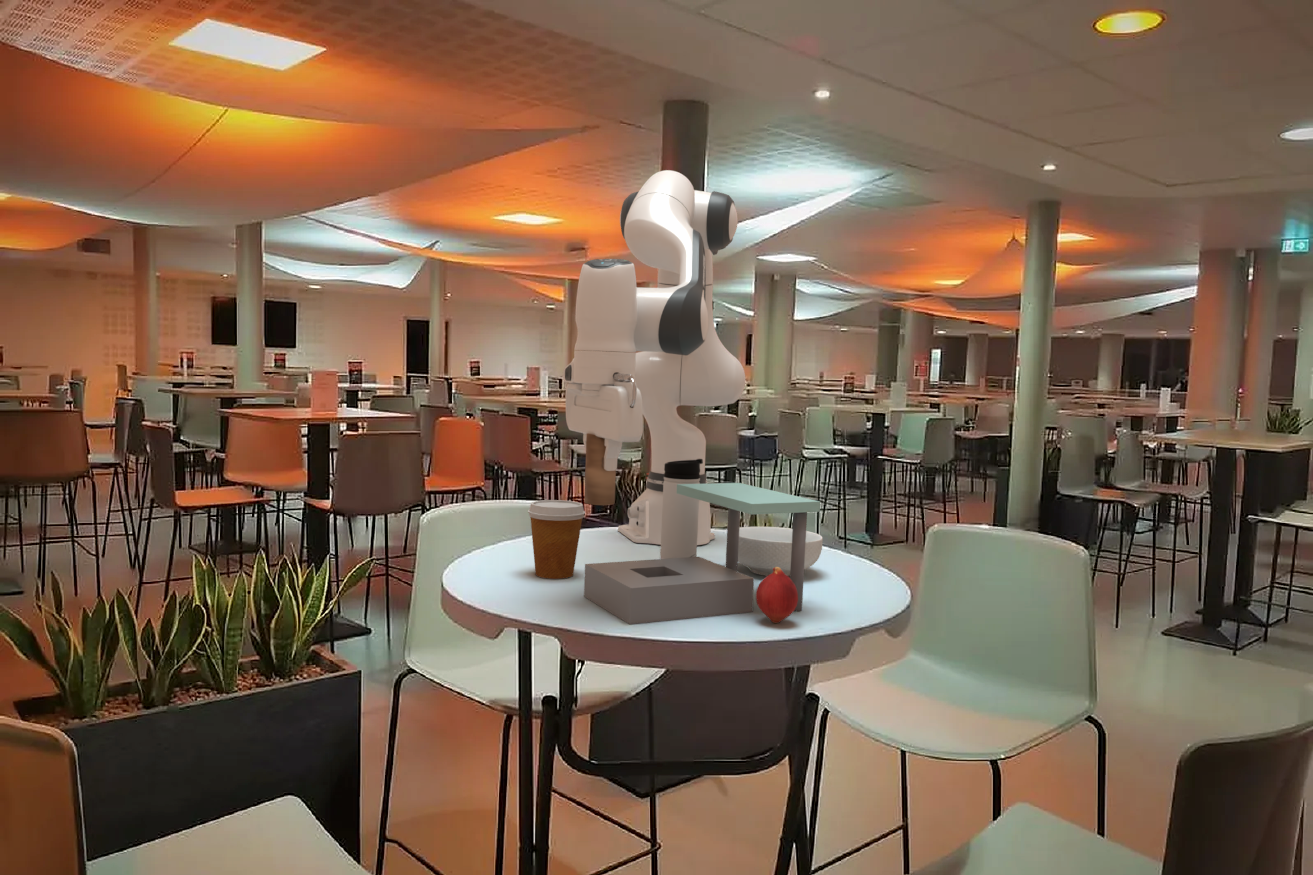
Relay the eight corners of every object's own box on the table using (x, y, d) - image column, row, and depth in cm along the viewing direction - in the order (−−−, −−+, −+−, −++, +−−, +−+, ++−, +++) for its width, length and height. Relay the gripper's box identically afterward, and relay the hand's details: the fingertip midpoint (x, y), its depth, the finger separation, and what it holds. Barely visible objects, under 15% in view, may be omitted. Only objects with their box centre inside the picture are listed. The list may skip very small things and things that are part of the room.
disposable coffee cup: (527, 581, 145) (529, 507, 144) (524, 568, 154) (526, 499, 154) (586, 581, 147) (588, 508, 146) (579, 568, 156) (582, 500, 155)
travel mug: (694, 578, 152) (699, 460, 151) (656, 575, 154) (661, 458, 152) (700, 571, 158) (705, 457, 157) (663, 567, 160) (668, 455, 158)
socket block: (583, 596, 137) (585, 564, 137) (697, 586, 146) (698, 556, 146) (629, 624, 123) (631, 588, 122) (752, 611, 132) (753, 578, 132)
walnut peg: (579, 500, 132) (582, 432, 131) (607, 499, 134) (609, 432, 133) (591, 505, 128) (593, 435, 127) (619, 504, 130) (622, 435, 129)
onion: (774, 615, 131) (776, 560, 130) (805, 624, 126) (808, 568, 126) (746, 621, 127) (749, 565, 126) (777, 630, 123) (780, 573, 122)
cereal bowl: (840, 576, 159) (842, 536, 159) (776, 587, 148) (778, 545, 148) (769, 558, 172) (771, 522, 172) (706, 567, 161) (708, 528, 161)
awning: (672, 584, 147) (676, 484, 146) (734, 579, 153) (739, 482, 152) (746, 618, 128) (752, 503, 127) (814, 611, 134) (820, 501, 132)
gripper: (656, 375, 121) (652, 476, 122) (597, 370, 139) (594, 459, 141) (613, 373, 118) (609, 477, 120) (559, 369, 137) (556, 460, 138)
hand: (601, 467), depth 130 cm, fingers closed on walnut peg, 4 cm apart
